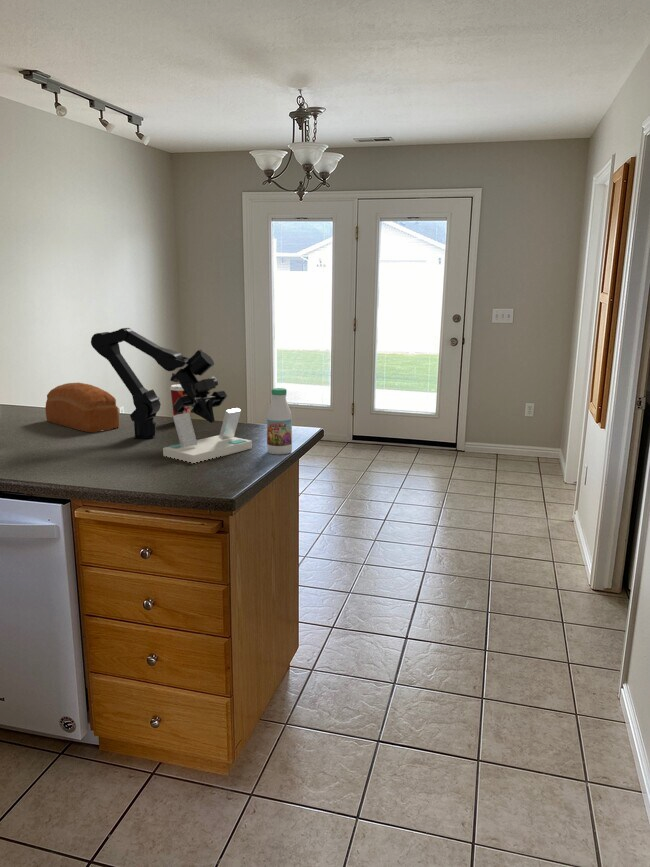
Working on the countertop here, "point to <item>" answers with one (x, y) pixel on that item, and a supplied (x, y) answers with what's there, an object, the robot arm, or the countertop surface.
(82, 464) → the countertop surface
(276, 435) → the milk bottle
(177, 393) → the paper cup
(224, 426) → the right lever
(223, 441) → the switch panel
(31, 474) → the countertop surface
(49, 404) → the bread
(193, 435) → the left lever
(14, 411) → the countertop surface
